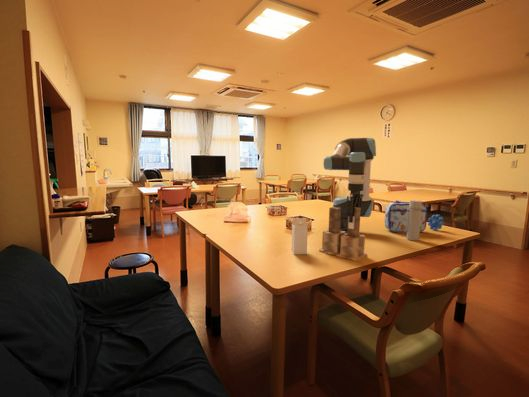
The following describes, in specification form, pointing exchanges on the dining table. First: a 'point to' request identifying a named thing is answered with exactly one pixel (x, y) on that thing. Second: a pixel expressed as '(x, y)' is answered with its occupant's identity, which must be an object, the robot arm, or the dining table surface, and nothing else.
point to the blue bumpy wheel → (435, 222)
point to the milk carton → (299, 236)
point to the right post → (355, 224)
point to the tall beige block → (414, 220)
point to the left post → (334, 219)
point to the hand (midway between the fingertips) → (353, 227)
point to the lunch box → (401, 216)
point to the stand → (343, 245)
